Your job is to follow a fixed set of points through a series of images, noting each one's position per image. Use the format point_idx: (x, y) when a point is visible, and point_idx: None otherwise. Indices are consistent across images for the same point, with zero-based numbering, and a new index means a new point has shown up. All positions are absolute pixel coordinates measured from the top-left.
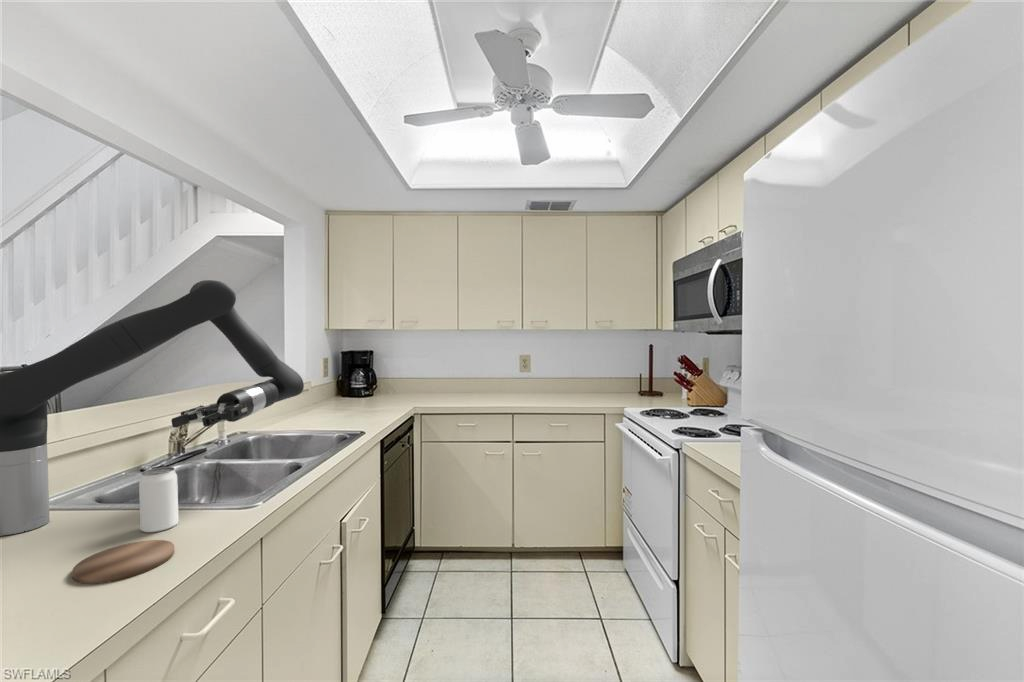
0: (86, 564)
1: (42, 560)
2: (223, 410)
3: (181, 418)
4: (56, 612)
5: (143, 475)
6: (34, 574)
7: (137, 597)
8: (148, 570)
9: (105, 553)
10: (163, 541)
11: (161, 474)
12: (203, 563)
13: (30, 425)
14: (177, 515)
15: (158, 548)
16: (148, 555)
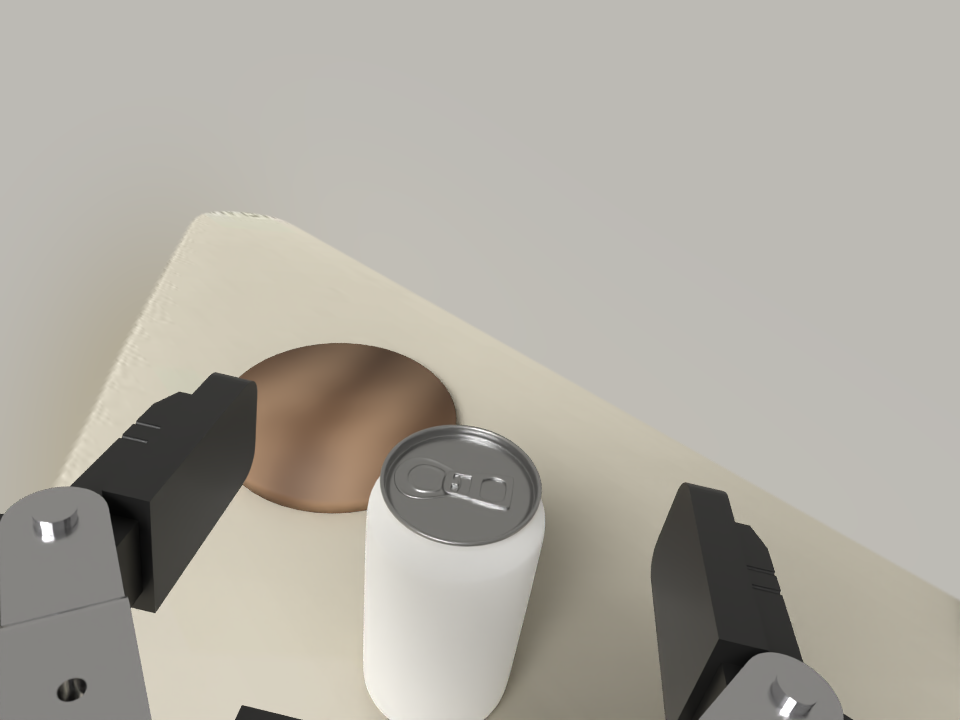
0: (419, 388)
1: (606, 451)
2: (5, 550)
3: (688, 573)
4: (332, 293)
5: (492, 439)
6: (538, 396)
7: (199, 312)
8: None
9: None
10: (288, 487)
11: (403, 444)
12: (97, 408)
13: None
14: (365, 662)
15: (273, 448)
16: (276, 414)
